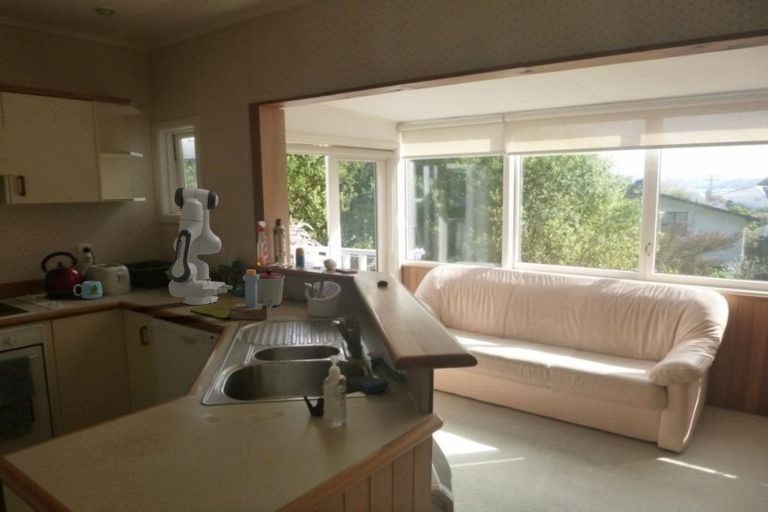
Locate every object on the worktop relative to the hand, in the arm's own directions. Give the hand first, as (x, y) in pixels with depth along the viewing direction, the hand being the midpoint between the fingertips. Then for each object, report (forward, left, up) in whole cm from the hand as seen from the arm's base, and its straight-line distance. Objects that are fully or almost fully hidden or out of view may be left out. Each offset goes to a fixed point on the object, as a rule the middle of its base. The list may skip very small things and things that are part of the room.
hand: (229, 289), depth 258 cm
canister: (-27, +15, -14) cm, 34 cm away
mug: (-45, -95, -14) cm, 106 cm away
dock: (0, +11, -14) cm, 18 cm away
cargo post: (0, +11, -9) cm, 14 cm away
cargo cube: (0, +11, +6) cm, 12 cm away
